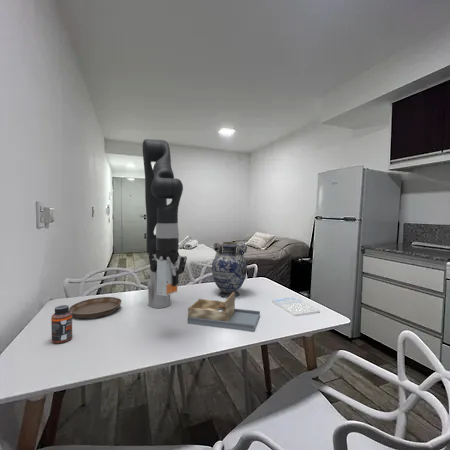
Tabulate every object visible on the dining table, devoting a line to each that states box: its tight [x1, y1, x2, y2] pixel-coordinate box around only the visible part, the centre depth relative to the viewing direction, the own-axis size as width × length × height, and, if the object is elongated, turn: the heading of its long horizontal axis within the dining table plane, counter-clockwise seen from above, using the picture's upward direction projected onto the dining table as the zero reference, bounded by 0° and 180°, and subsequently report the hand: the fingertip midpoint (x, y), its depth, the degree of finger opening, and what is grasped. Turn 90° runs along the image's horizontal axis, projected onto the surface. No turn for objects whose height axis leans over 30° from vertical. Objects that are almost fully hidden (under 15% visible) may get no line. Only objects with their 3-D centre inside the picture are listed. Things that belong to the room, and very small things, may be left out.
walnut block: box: [219, 303, 226, 312], centre depth 108 cm, size 4×4×3 cm
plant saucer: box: [69, 296, 122, 320], centre depth 114 cm, size 21×21×3 cm
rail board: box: [187, 308, 261, 332], centre depth 105 cm, size 26×15×2 cm, turn 74°
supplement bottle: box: [50, 304, 73, 344], centre depth 87 cm, size 6×6×11 cm
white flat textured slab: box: [271, 296, 321, 317], centre depth 120 cm, size 13×20×2 cm, turn 19°
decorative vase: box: [211, 241, 248, 298], centre depth 138 cm, size 21×19×28 cm
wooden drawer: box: [187, 292, 236, 321], centre depth 106 cm, size 16×12×9 cm
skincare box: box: [156, 259, 179, 296], centre depth 90 cm, size 6×4×12 cm
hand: (167, 284), depth 90 cm, fingers closed on skincare box, 5 cm apart
